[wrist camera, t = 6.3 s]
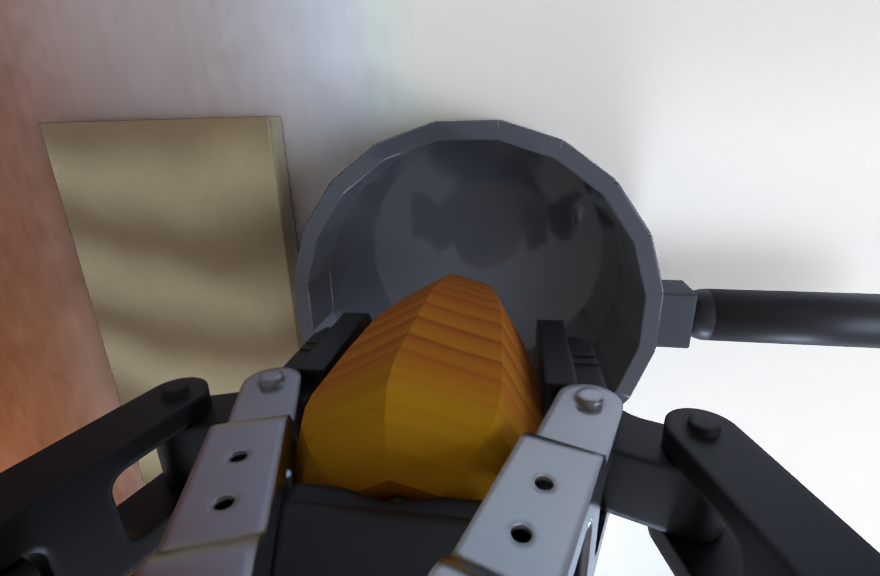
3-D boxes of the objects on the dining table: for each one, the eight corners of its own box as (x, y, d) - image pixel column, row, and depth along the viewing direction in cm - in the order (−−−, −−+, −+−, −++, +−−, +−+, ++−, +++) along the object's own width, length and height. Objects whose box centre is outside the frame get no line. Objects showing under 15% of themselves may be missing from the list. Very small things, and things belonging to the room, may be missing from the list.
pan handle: (635, 327, 18) (647, 348, 16) (641, 277, 17) (655, 294, 15) (966, 341, 16) (1019, 366, 14) (988, 287, 15) (1045, 306, 14)
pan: (324, 125, 20) (271, 125, 16) (650, 117, 18) (691, 115, 13) (350, 392, 24) (315, 449, 20) (614, 411, 22) (637, 478, 18)
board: (62, 122, 22) (38, 122, 20) (281, 116, 20) (267, 116, 19) (158, 469, 28) (143, 483, 27) (328, 487, 26) (320, 503, 25)
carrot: (558, 284, 17) (745, 954, 3) (476, 370, 19) (377, 1044, 5) (455, 201, 17) (181, 590, 3) (380, 298, 19) (-13, 825, 5)
